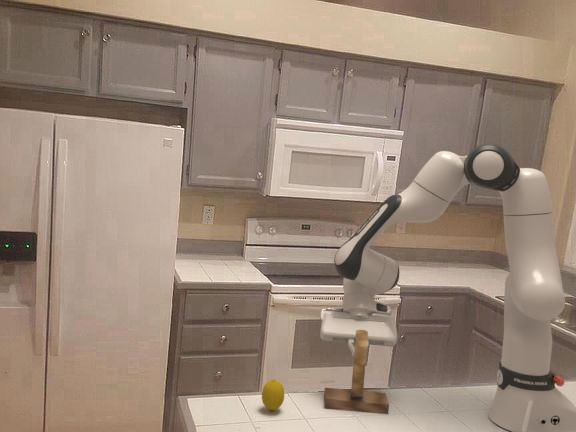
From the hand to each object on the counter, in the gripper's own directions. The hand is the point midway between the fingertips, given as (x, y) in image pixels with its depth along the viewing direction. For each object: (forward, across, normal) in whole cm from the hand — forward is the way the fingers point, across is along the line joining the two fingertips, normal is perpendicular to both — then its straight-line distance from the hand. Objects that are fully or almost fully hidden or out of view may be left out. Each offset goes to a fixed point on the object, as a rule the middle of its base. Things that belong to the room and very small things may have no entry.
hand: (358, 357), depth 135 cm
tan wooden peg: (+8, 0, +5) cm, 9 cm away
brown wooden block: (+9, 0, +8) cm, 12 cm away
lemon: (+15, -21, +3) cm, 26 cm away
